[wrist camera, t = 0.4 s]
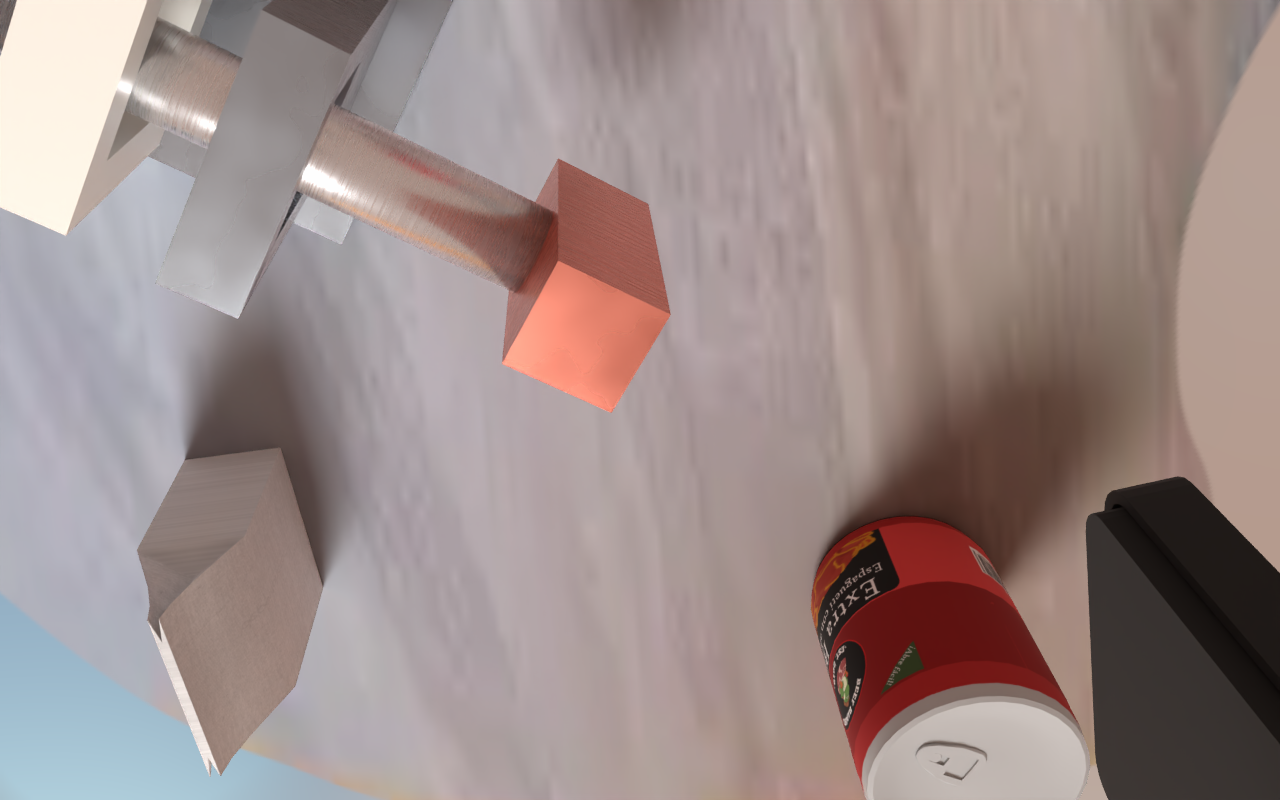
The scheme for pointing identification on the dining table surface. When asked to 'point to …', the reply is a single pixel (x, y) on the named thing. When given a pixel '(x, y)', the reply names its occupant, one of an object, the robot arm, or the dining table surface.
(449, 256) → the shaft
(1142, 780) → the robot arm
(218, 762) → the grey pointed block
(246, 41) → the bearing block
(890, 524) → the canned food
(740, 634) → the dining table surface
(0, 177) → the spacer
